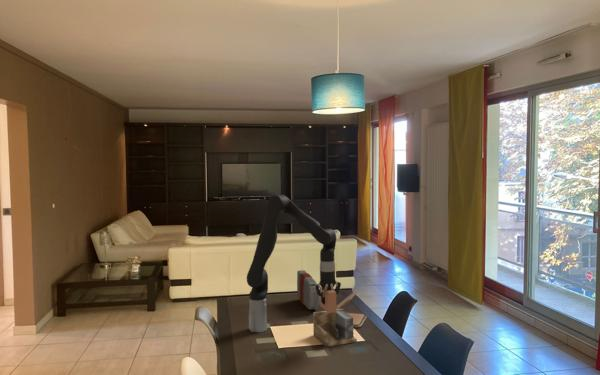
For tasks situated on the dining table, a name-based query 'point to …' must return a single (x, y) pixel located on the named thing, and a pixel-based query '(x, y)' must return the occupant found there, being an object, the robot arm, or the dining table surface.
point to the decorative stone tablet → (307, 290)
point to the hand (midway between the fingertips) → (328, 303)
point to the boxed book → (329, 301)
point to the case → (357, 318)
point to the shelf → (333, 327)
